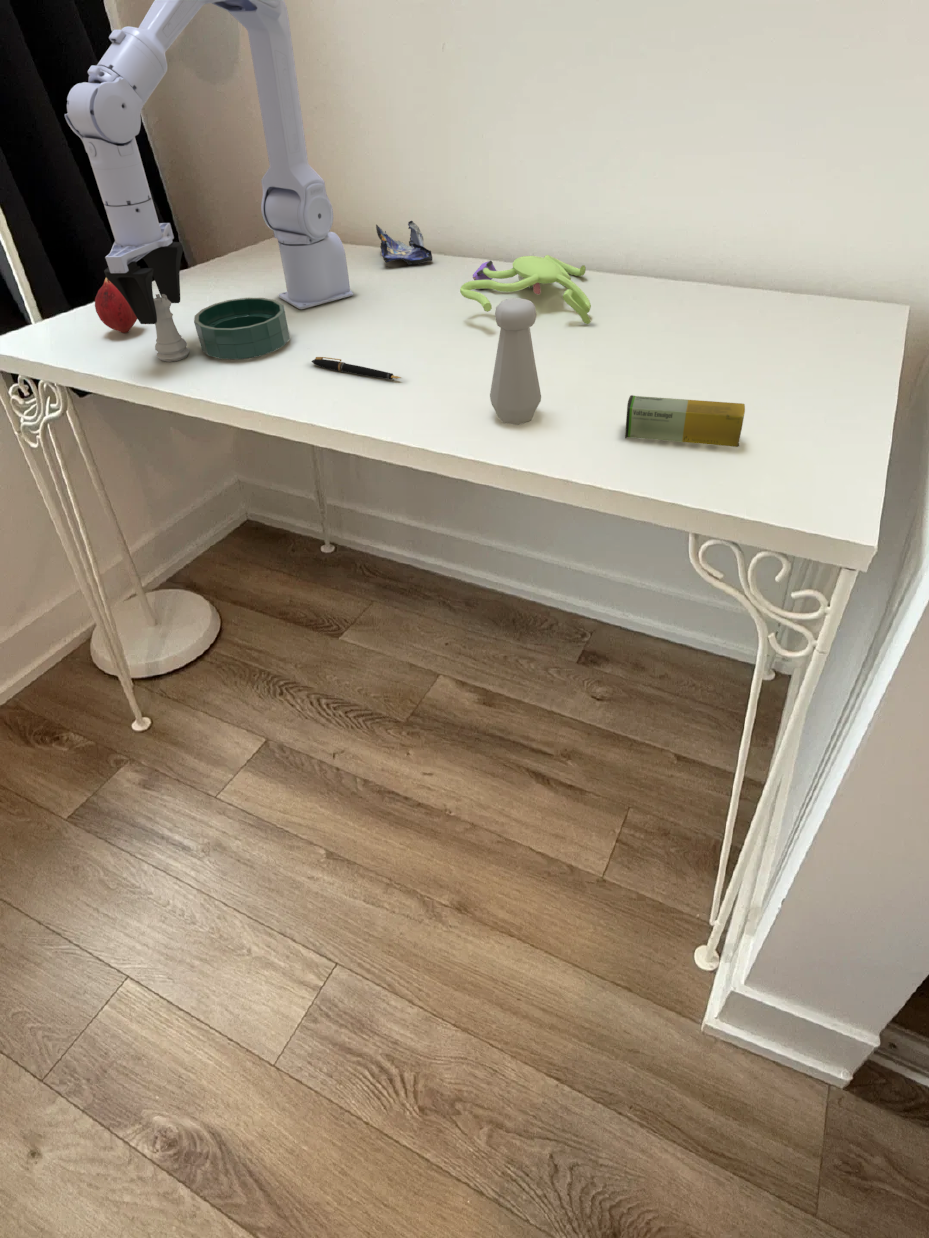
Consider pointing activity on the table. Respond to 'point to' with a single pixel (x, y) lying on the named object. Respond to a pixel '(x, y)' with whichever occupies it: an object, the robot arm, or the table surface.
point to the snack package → (404, 247)
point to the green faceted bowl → (242, 328)
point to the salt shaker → (515, 363)
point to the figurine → (530, 281)
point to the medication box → (684, 420)
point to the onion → (114, 308)
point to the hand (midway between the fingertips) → (161, 312)
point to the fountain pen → (351, 368)
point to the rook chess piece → (168, 333)
